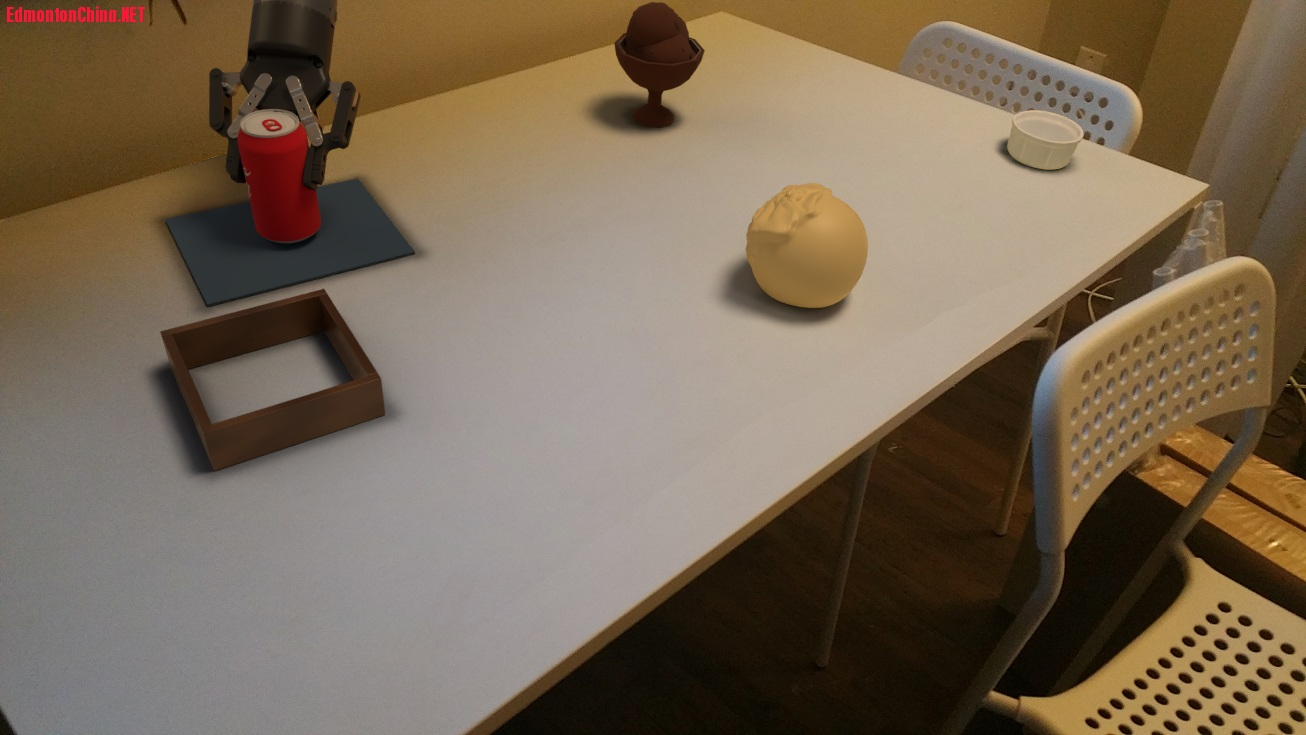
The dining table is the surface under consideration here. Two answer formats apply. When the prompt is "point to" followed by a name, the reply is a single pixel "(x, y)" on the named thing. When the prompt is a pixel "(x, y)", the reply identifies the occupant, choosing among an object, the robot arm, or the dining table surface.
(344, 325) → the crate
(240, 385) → the dining table surface
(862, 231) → the sculpture
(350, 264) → the cloth mat
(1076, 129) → the ramekin
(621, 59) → the ice cream bowl
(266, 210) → the beverage can
